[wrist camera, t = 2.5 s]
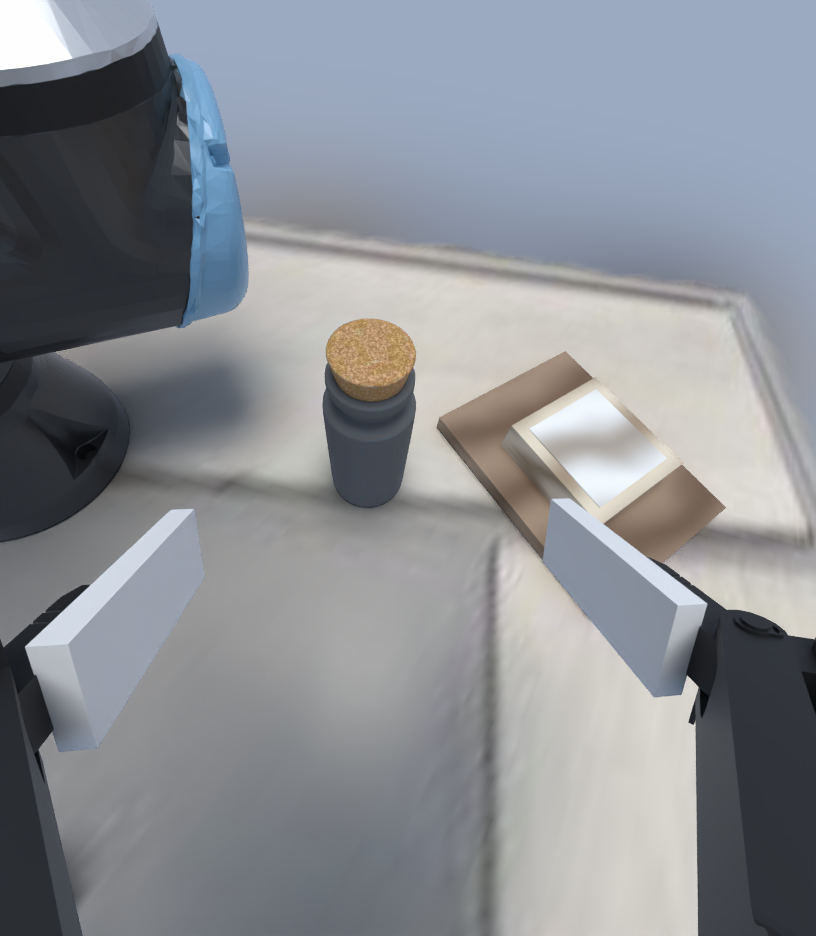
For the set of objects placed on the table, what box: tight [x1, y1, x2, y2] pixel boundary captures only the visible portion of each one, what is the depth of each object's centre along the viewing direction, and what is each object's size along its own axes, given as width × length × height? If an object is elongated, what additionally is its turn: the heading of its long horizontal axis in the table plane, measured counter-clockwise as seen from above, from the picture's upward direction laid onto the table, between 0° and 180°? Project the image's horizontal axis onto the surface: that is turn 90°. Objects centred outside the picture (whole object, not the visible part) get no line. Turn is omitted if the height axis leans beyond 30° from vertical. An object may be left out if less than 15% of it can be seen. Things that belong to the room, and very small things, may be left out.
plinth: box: [437, 351, 726, 563], centre depth 35 cm, size 20×16×5 cm
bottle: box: [323, 319, 416, 507], centre depth 28 cm, size 6×6×15 cm
